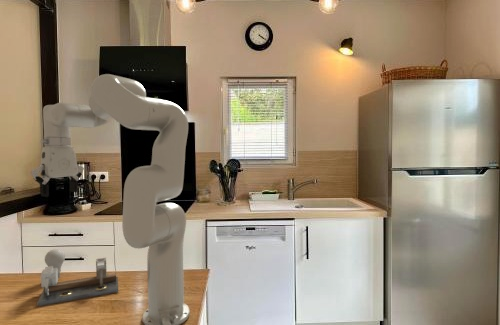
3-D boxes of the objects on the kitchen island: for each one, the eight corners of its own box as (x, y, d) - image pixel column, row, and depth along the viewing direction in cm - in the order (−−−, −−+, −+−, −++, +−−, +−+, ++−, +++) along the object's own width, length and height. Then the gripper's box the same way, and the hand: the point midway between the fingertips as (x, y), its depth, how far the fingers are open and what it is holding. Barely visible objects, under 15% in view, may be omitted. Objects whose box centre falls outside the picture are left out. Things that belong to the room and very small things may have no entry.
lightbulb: (54, 275, 114) (52, 246, 113) (69, 276, 113) (68, 246, 113) (41, 283, 108) (39, 252, 107) (57, 284, 107) (56, 252, 106)
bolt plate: (118, 292, 101) (118, 288, 101) (37, 306, 92) (37, 302, 92) (117, 279, 110) (117, 276, 110) (44, 292, 101) (44, 287, 101)
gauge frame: (116, 285, 103) (115, 263, 103) (41, 298, 95) (40, 274, 94) (116, 277, 110) (115, 256, 109) (45, 288, 101) (44, 265, 101)
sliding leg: (54, 294, 96) (53, 272, 96) (39, 297, 94) (38, 274, 94) (58, 284, 103) (57, 264, 102) (43, 287, 101) (42, 265, 101)
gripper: (37, 142, 94) (39, 199, 95) (89, 142, 110) (90, 191, 111) (22, 143, 98) (25, 197, 99) (75, 143, 113) (76, 190, 114)
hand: (59, 194), depth 105 cm, fingers open, 9 cm apart
